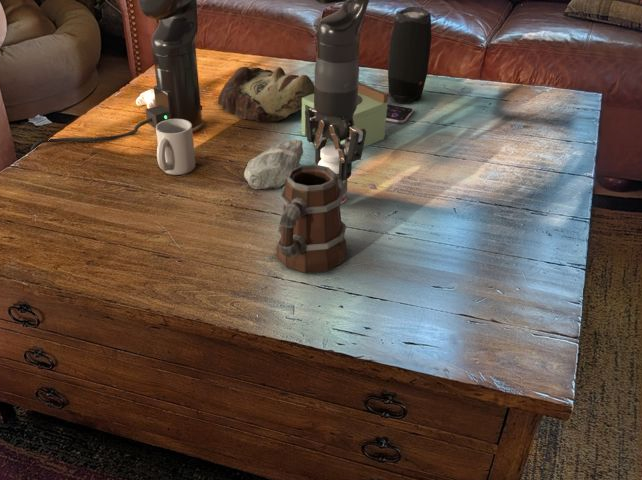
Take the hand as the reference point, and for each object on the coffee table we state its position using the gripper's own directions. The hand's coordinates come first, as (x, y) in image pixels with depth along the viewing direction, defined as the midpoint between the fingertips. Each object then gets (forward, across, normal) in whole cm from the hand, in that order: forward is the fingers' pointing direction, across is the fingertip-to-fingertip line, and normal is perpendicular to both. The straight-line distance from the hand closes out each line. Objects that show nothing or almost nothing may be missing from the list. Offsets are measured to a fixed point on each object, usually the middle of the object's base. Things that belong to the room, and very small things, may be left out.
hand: (332, 172), depth 135 cm
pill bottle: (+6, 0, 0) cm, 6 cm away
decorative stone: (+6, +15, +2) cm, 16 cm away
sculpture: (+7, +45, -20) cm, 49 cm away
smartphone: (+6, +24, -36) cm, 44 cm away
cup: (+6, +31, +16) cm, 35 cm away
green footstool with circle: (+6, +20, -21) cm, 30 cm away
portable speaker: (+6, +26, -47) cm, 54 cm away
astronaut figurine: (+7, +65, -1) cm, 65 cm away
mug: (+6, -12, +17) cm, 22 cm away
